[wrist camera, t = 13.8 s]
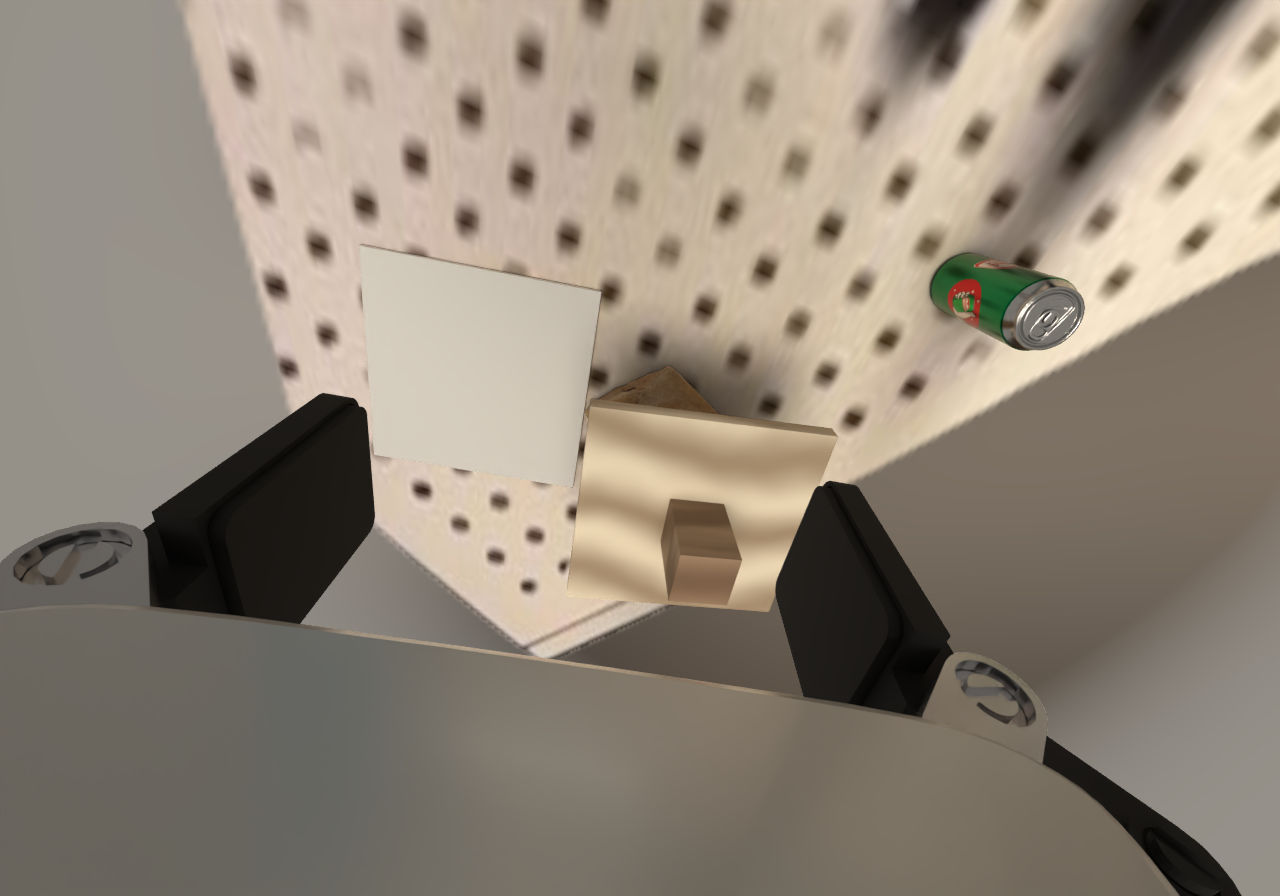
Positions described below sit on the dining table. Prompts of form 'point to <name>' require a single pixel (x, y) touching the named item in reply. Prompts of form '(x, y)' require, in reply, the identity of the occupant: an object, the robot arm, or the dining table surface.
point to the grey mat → (476, 365)
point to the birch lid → (690, 505)
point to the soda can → (1008, 301)
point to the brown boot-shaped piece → (660, 393)
